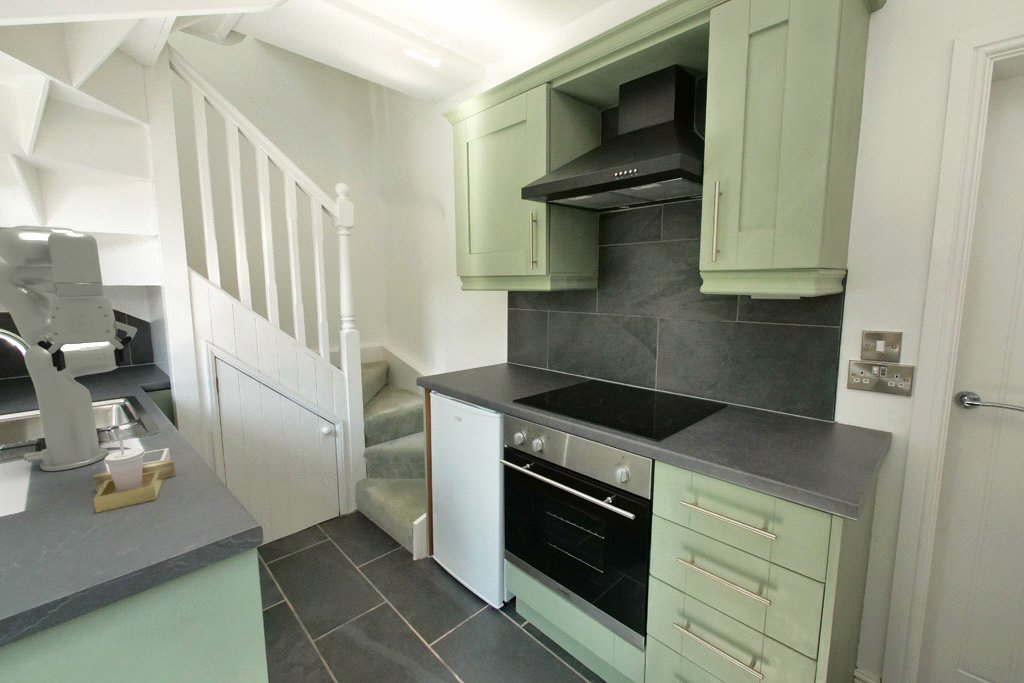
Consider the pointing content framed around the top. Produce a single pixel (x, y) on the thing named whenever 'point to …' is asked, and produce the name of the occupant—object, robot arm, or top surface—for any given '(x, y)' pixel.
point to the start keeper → (156, 456)
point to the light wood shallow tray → (128, 493)
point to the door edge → (165, 468)
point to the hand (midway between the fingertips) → (91, 367)
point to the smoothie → (126, 467)
